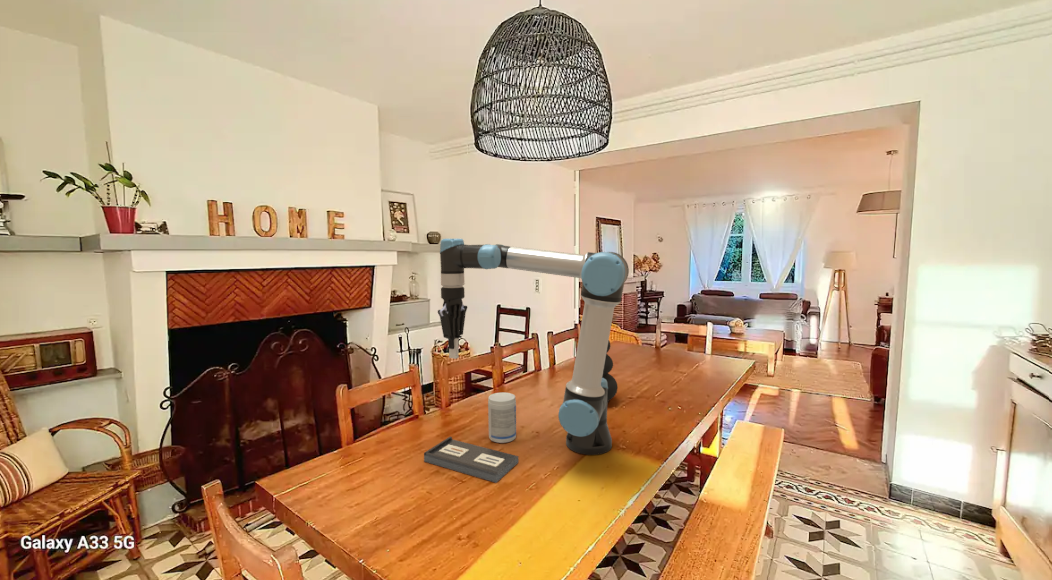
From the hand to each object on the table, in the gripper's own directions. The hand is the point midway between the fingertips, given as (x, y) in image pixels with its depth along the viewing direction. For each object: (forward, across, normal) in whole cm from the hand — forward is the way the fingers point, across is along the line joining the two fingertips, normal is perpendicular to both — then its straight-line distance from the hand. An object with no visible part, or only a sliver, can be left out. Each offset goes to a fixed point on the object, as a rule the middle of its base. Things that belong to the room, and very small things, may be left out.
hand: (453, 357), depth 143 cm
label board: (+29, +8, +12) cm, 33 cm away
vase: (+30, -59, +29) cm, 72 cm away
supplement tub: (+30, -11, +12) cm, 34 cm away
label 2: (+27, +8, +18) cm, 34 cm away
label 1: (+27, +8, +6) cm, 29 cm away
